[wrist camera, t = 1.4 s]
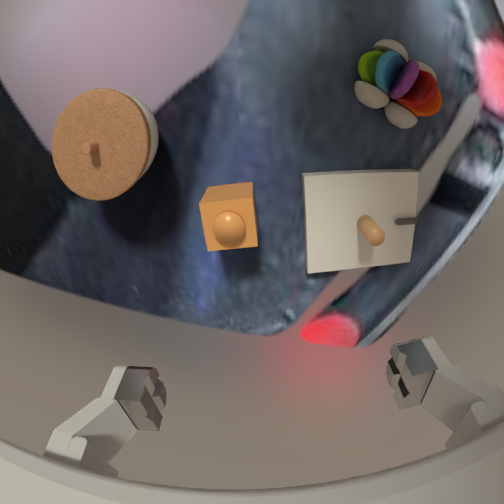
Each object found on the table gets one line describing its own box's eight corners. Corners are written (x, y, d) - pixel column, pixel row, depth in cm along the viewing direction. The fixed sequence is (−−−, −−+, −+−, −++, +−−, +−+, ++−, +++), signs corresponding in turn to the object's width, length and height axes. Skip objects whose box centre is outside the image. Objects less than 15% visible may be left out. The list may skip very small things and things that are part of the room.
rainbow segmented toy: (405, 136, 30) (438, 145, 24) (337, 90, 28) (360, 87, 22) (433, 81, 27) (469, 81, 20) (369, 33, 25) (396, 19, 18)
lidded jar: (102, 191, 33) (62, 219, 25) (78, 111, 28) (30, 118, 20) (182, 165, 32) (157, 188, 24) (157, 76, 27) (123, 68, 19)
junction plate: (301, 173, 32) (310, 185, 27) (413, 168, 32) (437, 180, 27) (305, 267, 38) (313, 292, 33) (405, 256, 37) (423, 277, 32)
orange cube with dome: (207, 187, 33) (197, 206, 27) (252, 181, 33) (252, 200, 27) (214, 227, 35) (206, 254, 29) (257, 223, 35) (258, 250, 29)
